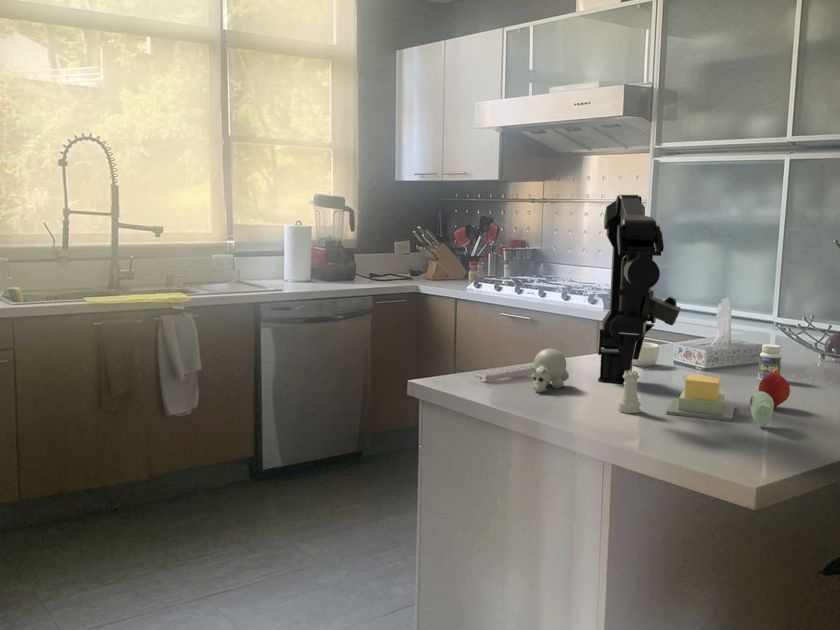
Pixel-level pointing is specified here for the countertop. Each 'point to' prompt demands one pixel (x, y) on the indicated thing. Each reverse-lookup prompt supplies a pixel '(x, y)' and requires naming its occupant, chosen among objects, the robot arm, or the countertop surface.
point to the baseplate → (702, 415)
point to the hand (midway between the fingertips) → (631, 363)
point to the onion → (775, 387)
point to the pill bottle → (769, 360)
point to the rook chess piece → (630, 394)
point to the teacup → (647, 355)
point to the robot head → (761, 408)
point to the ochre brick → (702, 387)
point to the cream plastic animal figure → (549, 370)
